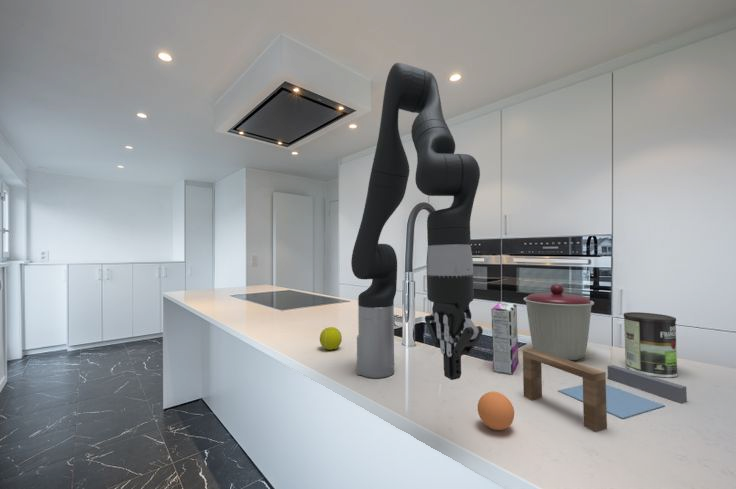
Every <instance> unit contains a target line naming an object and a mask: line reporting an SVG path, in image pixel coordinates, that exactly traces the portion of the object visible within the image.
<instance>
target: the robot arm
mask: <svg viewBox="0 0 736 489" xmlns="http://www.w3.org/2000/svg"><path fill="white" fill-rule="evenodd" d="M382 100H383V102H382V108H381V117H380V125H379V130H378V131H379V132H378V137H377V143H376V148H375V153H374V157H373V162H372V166H371V171H370V175H369V180H368V186H367V191H366V192H367V194H366V199H365V204H364V208H363V213H362V218H361V222H360V225H359V228H358V231H357V236H356V238H355V242H354V245H353V249H352V255H351V260H350V261H351V262H350V263H351V271H352V273H353V275H354V277H356V278H357V279H359V280H372V281H371V285H370V286H369V287H367V289H365V290H364V291H362V292H360V293H359V294H358V298H357V299H358V300H357V302H358V303H357V306H358V310H357V311H358V316H357V317H358V318H357V320H358V321H357V322H358V335H356V336H357V337H356V375H358V376H363V377H367V378H373V379H378V378H380V379H383V378H387V377H390V376H392V375H393V374H394V373H395V322H394V321H395V320H394V319H395V315H394V314H395V310H394V308H395V307H394V300H395V297H396V295H397V294H396V293H397V284H398V283H397V281H398V258H397V253H396V251H395V248H394V247H393V246H392V245H390V244H387V243H379V240H380V237H381V234H382V231H383V229H384V226H385V225H386V223H387V222H388V220H389V219H390V218H391V216H392V215H393V214H394V213H395V211H396V210H397V208H398V207H399V206H400V204H401V203H402V201H403V199H404V197H405V194H406V191H407V186H408V182H409V176H410V165H409V160H408V157H407V153H406V151H405V147H404V145H403V142H402V139H401V134H400V129H399V112H400V111H399V110H402V111H405V112H408V113H409V112H410V113H414V114H415V113H417V116H416V117H415V118H414V120H413V122H412V125H411V132H410V133H411V138H412V142H413V144H414V145H413V146H414V148H415V151H416V156H417V160H416V161H417V163H416V164H417V165H416V169H415V170H416V171H415V177H414V179H415V181H414V182H415V185H416V187H417V189H418V190H419V191H420V192H421V193H422V194H423V195H426V196H429V197H453V201H452V203H451V205H450V207H447V208H441V209H437V210H434V211H431V212H430V213H429V214H428V215H427V219H426V229H427V231H426V232H427V252H426V295H427V296H426V298H427V300H428V301H429V302H431V303H433V304H432V308H431V310H432V311H431V312H432V313H431V314H430V315H425V316H424V321H425V323H426V327H427V328H428V331H429V333H430V336H431V339H432V341H433V344H434V346H435V348H437V349H439V350H440V353H441V354H442V355H443V358H442V360H443V376H444V377H445V378H447V379H449V380H451V381H453V380H459V379H460V378H461V375H462V356H464V355H470V354H471V353H472V351H473V350H474V347H475V345H476V344H477V342H478V341H479V339H480V338H481V336H482V334H483V332H484V329H483V328H482V326H480V325H478V326H476V325H475V323H474V322H473V321H472V312H471V309H470V304H471V302H473V301H474V298H475V296H474V294H475V292H474V291H475V290H474V288H475V287H474V259H473V252H472V246H471V243H472V242H471V217H472V212H473V208H474V206H473V205H474V203H475V202H474V201H475V198H476V194H477V190H478V187H479V183H480V178H481V170H480V166H479V163H478V161H477V159H476V158H475V157H474V156H472V155H471V154H467V153H455V152H456V142H455V139H454V136H453V135H452V132H451V130H450V128H449V126H448V125H447V123H446V122H447V121H446V119H445V118H444V113H443V109H442V102H441V96H440V91H439V85H438V82H437V79H436V77H435V76H434V74H433V72H430V71H428V70H425V69H422V68H420V67H415V66H413V65H409V64H405V63H401V62H395V63H394V64H392V66H391V68H390V69H389V71H388V74H387V77H386V82H385V86H384V92H383V99H382Z"/></svg>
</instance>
